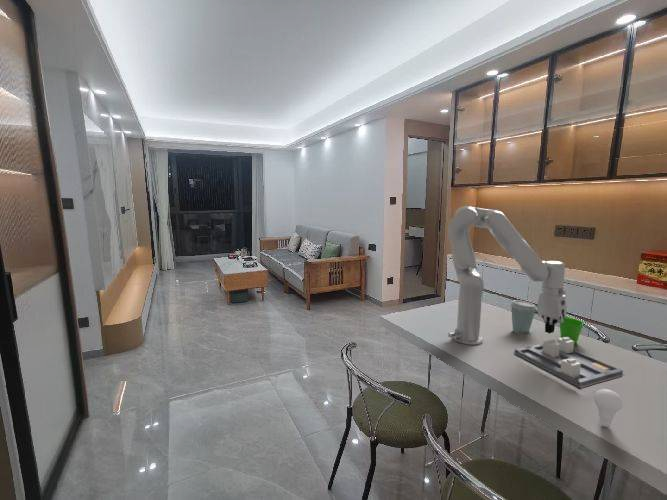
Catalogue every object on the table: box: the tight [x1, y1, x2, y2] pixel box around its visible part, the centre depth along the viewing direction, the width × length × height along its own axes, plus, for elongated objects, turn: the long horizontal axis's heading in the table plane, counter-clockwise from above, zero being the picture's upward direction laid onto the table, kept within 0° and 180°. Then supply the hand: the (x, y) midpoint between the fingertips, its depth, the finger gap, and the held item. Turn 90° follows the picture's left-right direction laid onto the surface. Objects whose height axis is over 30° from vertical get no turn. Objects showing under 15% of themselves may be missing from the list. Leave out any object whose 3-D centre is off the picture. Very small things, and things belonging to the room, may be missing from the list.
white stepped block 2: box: [560, 358, 581, 378], centre depth 118 cm, size 4×4×6 cm
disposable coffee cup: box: [510, 299, 537, 335], centre depth 158 cm, size 11×11×15 cm
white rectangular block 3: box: [556, 337, 575, 354], centre depth 136 cm, size 4×4×6 cm
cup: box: [559, 316, 585, 345], centre depth 145 cm, size 9×9×11 cm
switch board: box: [513, 343, 624, 390], centre depth 128 cm, size 22×26×2 cm
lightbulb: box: [593, 388, 623, 428], centre depth 94 cm, size 6×6×11 cm
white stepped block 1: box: [542, 339, 560, 357], centre depth 133 cm, size 4×4×6 cm
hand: (549, 332), depth 143 cm, fingers closed
